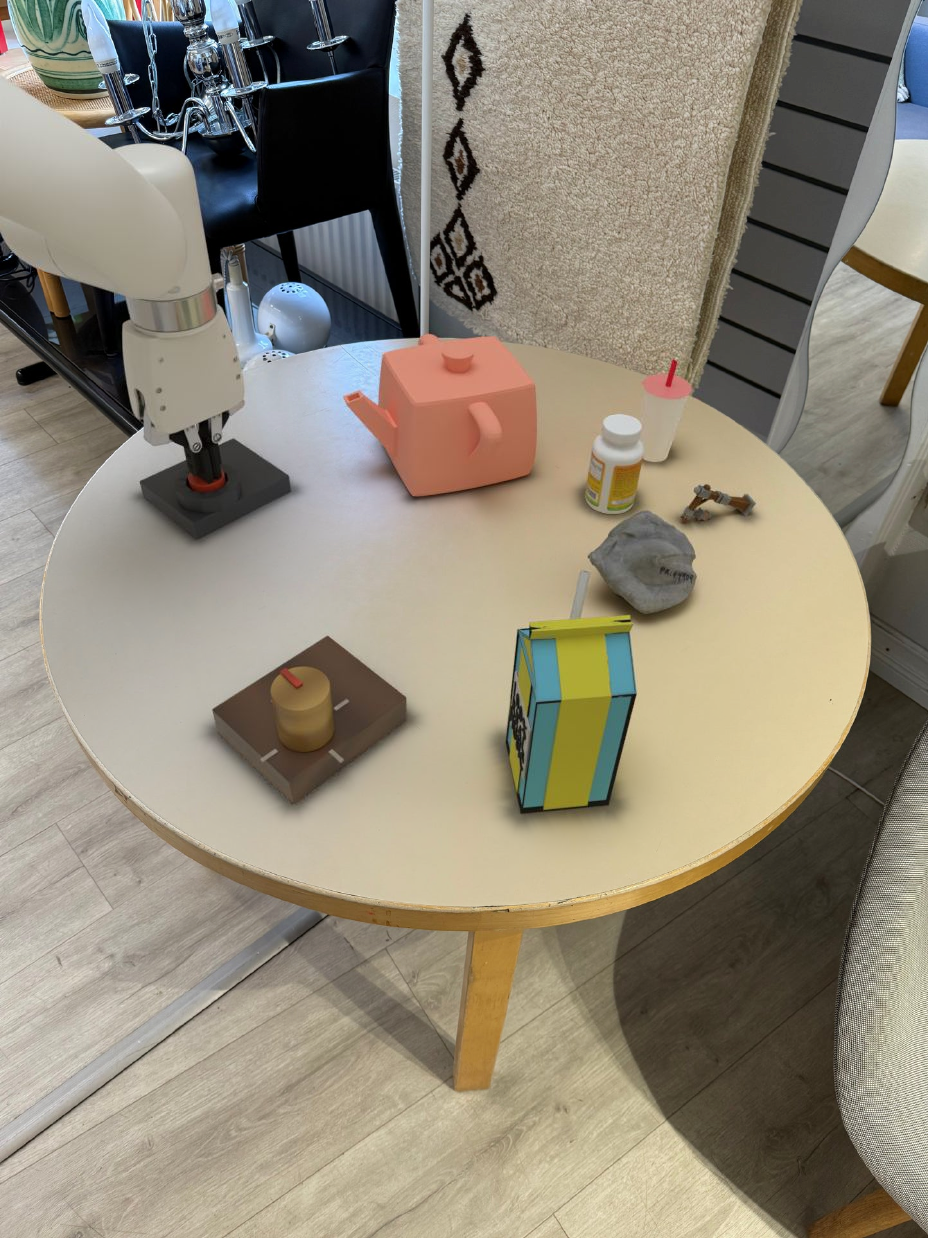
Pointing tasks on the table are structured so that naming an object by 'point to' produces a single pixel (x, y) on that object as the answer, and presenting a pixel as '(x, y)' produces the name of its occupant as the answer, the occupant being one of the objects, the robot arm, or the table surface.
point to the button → (205, 483)
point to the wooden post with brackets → (704, 492)
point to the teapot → (453, 414)
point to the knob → (303, 708)
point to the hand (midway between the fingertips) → (206, 474)
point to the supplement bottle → (615, 465)
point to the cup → (662, 412)
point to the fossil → (647, 562)
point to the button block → (210, 511)
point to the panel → (358, 714)
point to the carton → (570, 708)
